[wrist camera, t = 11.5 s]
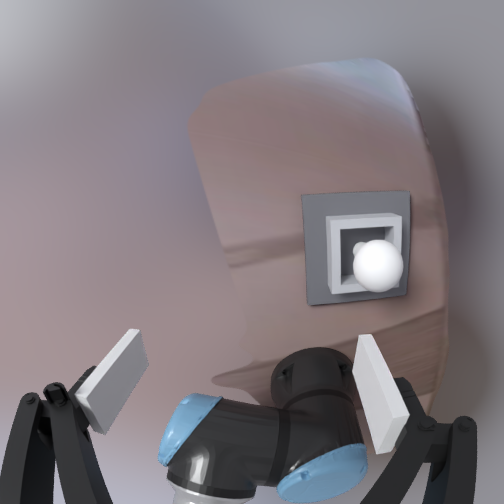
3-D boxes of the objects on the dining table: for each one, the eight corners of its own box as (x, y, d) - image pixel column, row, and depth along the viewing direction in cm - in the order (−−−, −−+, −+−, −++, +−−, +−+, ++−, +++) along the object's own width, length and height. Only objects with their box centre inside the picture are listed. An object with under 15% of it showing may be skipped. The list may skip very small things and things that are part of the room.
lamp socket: (403, 292, 41) (414, 304, 36) (306, 301, 43) (309, 316, 38) (406, 190, 37) (420, 192, 32) (301, 194, 39) (304, 197, 34)
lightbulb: (382, 230, 38) (416, 249, 27) (375, 271, 39) (404, 301, 29) (342, 225, 38) (367, 243, 27) (336, 268, 40) (356, 299, 29)
